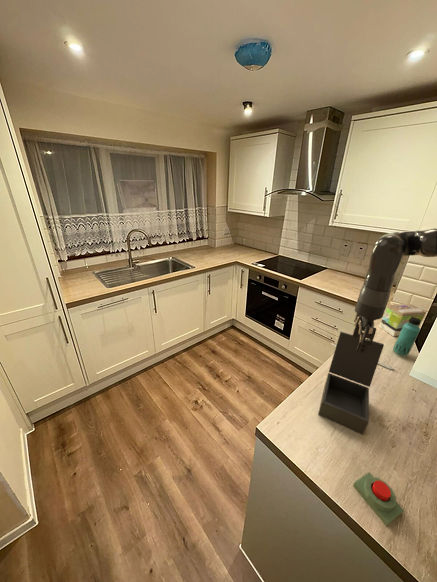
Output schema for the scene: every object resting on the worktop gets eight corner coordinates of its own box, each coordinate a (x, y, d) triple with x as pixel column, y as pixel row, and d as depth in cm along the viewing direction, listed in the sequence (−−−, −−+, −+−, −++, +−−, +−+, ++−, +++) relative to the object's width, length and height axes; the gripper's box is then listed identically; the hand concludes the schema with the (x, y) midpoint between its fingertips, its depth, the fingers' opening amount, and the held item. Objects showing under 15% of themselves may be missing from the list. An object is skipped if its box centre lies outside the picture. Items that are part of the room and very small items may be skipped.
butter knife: (393, 370, 102) (394, 366, 104) (329, 344, 117) (331, 341, 119) (393, 371, 102) (394, 367, 104) (329, 345, 118) (331, 342, 120)
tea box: (393, 337, 126) (403, 313, 120) (378, 326, 135) (387, 304, 128) (416, 334, 129) (427, 311, 123) (399, 324, 138) (409, 302, 131)
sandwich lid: (384, 345, 81) (382, 340, 85) (340, 332, 87) (340, 329, 92) (369, 387, 84) (368, 381, 89) (328, 372, 91) (329, 366, 95)
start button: (377, 481, 61) (380, 477, 60) (391, 496, 58) (394, 493, 57) (368, 488, 60) (370, 484, 59) (382, 504, 57) (385, 500, 56)
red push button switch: (368, 475, 65) (372, 467, 64) (402, 512, 58) (407, 505, 56) (352, 486, 63) (355, 478, 61) (385, 527, 55) (390, 520, 54)
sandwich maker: (362, 435, 76) (368, 422, 73) (318, 414, 82) (322, 402, 79) (363, 400, 88) (368, 387, 85) (324, 384, 94) (328, 372, 92)
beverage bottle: (389, 353, 113) (405, 318, 105) (393, 347, 118) (408, 313, 109) (406, 360, 109) (423, 324, 101) (409, 354, 113) (426, 319, 105)
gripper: (393, 313, 64) (376, 360, 70) (380, 293, 76) (366, 334, 83) (362, 308, 66) (348, 354, 73) (354, 289, 78) (343, 330, 85)
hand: (358, 344), depth 78 cm, fingers open, 8 cm apart
